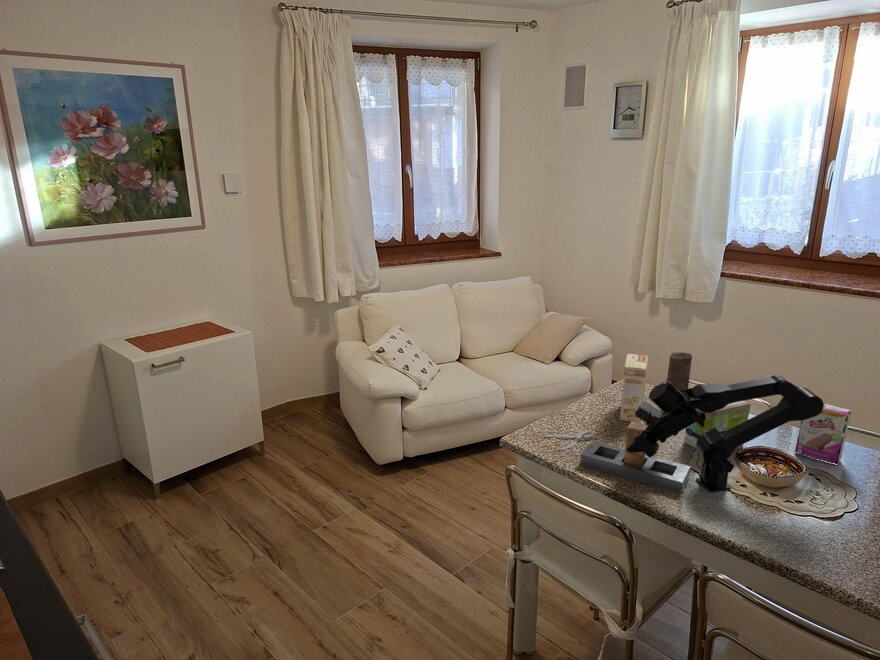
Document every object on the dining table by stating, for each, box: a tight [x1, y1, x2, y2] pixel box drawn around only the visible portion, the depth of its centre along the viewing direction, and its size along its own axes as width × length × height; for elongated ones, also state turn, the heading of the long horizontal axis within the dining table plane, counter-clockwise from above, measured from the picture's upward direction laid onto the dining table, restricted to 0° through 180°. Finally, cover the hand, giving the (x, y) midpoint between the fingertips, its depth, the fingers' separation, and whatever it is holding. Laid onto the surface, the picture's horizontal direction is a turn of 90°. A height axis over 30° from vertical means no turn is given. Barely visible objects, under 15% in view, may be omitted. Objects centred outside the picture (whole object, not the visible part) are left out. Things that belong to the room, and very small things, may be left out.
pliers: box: [541, 430, 594, 451], centre depth 186 cm, size 10×2×15 cm
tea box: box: [683, 400, 751, 450], centre depth 181 cm, size 15×10×15 cm
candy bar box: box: [794, 403, 852, 464], centre depth 172 cm, size 11×5×16 cm, turn 47°
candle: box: [666, 351, 693, 390], centre depth 207 cm, size 8×7×20 cm
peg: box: [624, 422, 648, 467], centre depth 166 cm, size 4×4×14 cm
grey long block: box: [579, 440, 691, 495], centre depth 167 cm, size 28×10×4 cm, turn 56°
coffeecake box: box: [619, 353, 649, 424], centre depth 202 cm, size 15×7×20 cm, turn 159°
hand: (630, 447), depth 166 cm, fingers closed on peg, 4 cm apart
